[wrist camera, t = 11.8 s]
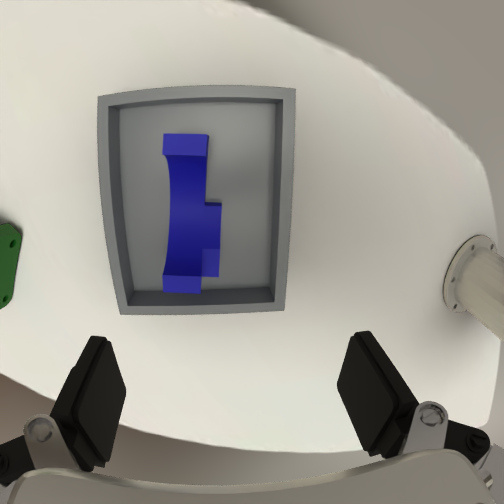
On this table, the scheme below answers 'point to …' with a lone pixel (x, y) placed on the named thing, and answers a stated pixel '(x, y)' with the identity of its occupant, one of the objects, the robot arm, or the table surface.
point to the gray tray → (217, 190)
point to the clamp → (8, 261)
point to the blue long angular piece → (190, 216)
